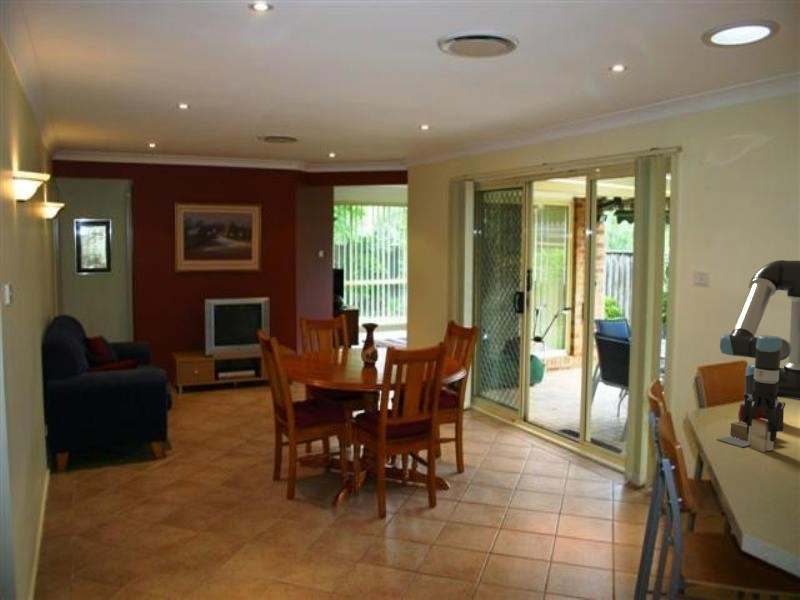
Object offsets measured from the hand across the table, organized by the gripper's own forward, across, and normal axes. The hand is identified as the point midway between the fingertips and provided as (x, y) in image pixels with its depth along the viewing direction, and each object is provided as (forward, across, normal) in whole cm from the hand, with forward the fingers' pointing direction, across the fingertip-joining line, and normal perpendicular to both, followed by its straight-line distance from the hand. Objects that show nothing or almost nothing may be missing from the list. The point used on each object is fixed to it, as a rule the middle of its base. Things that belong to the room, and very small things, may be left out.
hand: (760, 446), depth 232 cm
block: (+1, 0, 0) cm, 1 cm away
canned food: (+1, -15, +17) cm, 23 cm away
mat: (+1, -8, -1) cm, 8 cm away
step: (+1, -8, +8) cm, 12 cm away
